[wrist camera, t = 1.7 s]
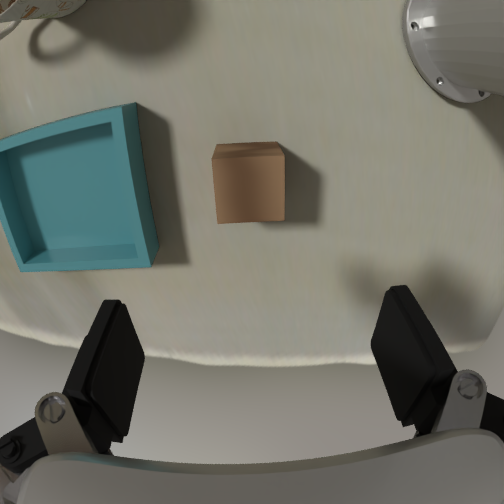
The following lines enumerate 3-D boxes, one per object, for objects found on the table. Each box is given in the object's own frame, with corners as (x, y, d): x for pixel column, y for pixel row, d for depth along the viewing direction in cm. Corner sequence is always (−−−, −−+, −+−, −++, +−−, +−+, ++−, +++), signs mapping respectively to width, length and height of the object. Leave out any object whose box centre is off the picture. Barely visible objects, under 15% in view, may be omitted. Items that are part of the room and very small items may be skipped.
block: (276, 141, 25) (284, 155, 21) (277, 196, 28) (284, 220, 23) (216, 144, 25) (211, 159, 21) (221, 198, 28) (217, 223, 23)
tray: (136, 102, 22) (121, 106, 20) (159, 246, 30) (151, 267, 27) (1, 138, 22) (-19, 148, 19) (35, 254, 30) (20, 272, 27)
